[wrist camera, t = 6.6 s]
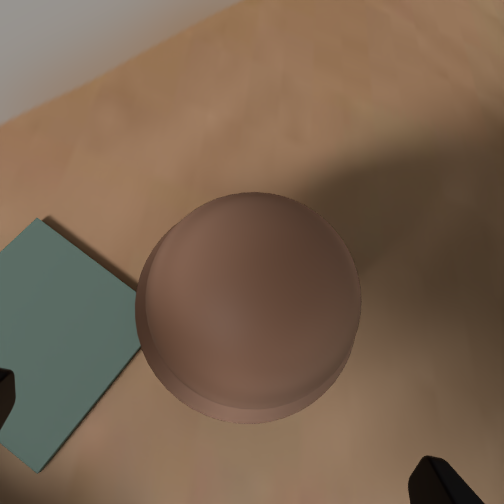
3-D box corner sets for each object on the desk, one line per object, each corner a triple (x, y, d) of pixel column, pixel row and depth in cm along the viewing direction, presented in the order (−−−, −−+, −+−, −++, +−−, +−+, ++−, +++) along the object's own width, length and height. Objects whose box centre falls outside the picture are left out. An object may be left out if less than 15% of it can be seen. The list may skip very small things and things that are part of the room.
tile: (166, 315, 18) (165, 314, 18) (40, 471, 16) (37, 473, 15) (40, 220, 19) (37, 217, 19) (-101, 354, 16) (-108, 353, 16)
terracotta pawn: (292, 333, 19) (468, 242, 7) (233, 423, 17) (321, 527, 5) (212, 274, 19) (237, 86, 7) (146, 356, 18) (30, 299, 5)
